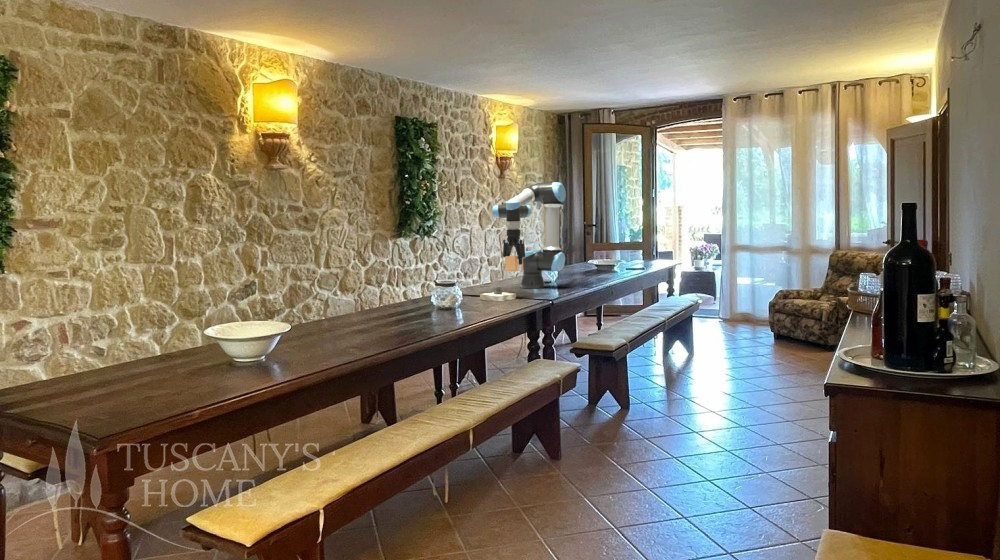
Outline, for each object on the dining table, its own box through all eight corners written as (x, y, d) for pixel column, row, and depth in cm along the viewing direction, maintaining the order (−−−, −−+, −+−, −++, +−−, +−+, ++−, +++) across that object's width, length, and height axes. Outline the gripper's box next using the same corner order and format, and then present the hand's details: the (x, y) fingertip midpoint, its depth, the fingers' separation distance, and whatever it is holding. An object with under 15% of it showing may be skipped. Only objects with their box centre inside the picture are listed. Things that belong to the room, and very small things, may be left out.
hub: (499, 296, 396) (499, 284, 395) (515, 299, 385) (515, 286, 384) (480, 299, 387) (479, 287, 386) (496, 301, 376) (496, 289, 376)
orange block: (513, 269, 395) (513, 255, 394) (523, 270, 391) (522, 256, 390) (505, 270, 390) (505, 256, 389) (515, 271, 386) (514, 256, 385)
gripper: (495, 229, 392) (496, 269, 394) (522, 229, 378) (523, 271, 381) (504, 228, 397) (505, 268, 400) (531, 228, 384) (532, 270, 386)
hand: (514, 270), depth 390 cm, fingers closed on orange block, 7 cm apart
